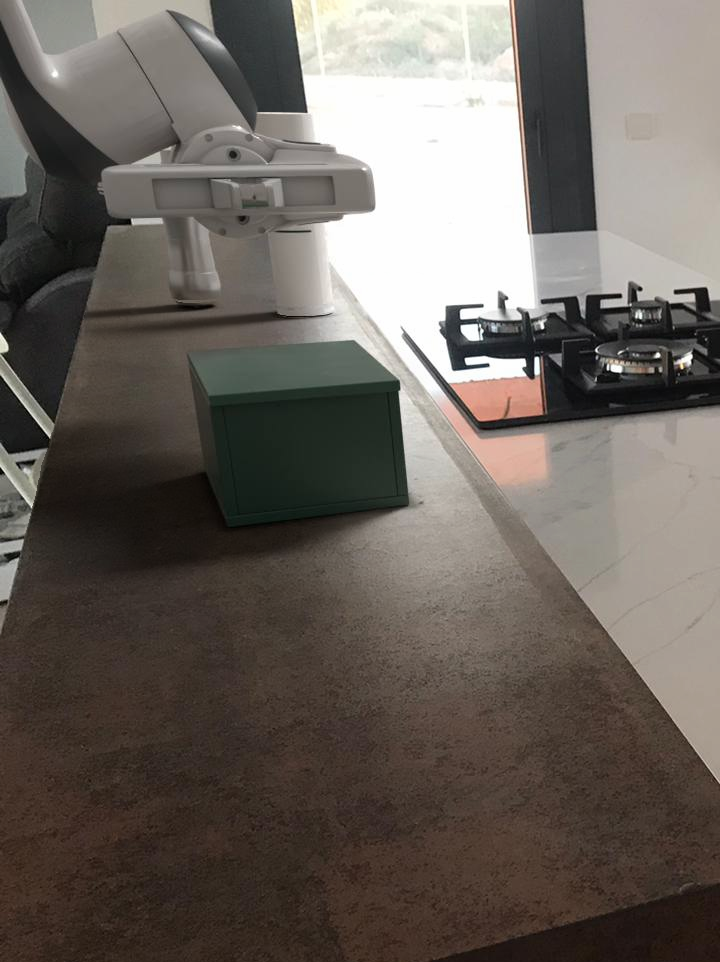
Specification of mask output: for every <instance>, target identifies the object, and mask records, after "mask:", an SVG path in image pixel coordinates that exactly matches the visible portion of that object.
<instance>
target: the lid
mask: <svg viewBox="0 0 720 962" xmlns="http://www.w3.org/2000/svg"><path fill="white" fill-rule="evenodd" d="M186 357H187V362H189V363H190V366H191V368H192V370H193V372H194V374H195V376H196V378H197V380H198V382H199V384H200V386H201V388H202V390H203V392H204V394H205V396H206V398H207V400H208V402H209V404H210V406H211V407H216V406H228V405H240V404H251V403H263V402H275V401H287V400H298V399H310V398H322V397H333V396H345V395H357V394H369V393H380V392H392V391H399V392H400V391H401V390H402V388H401V380H400V379H399V378H398V377H397V376H395V374H393V373H392V372H391V370H389V369H388V368H386V366H385V365H383V364H382V363H381V362H380V361H379V360H378V359H376V358H375V357H374V356H373V355H372V354H371V353H370V352H369V351H368V350H366V349H365V348H364V347H363V346H362V345H361V344H359V342H357V341H356V340H355V339H347V340H331V341H318V342H317V341H316V342H303V343H302V342H301V343H288V344H287V343H286V344H285V343H284V344H273V345H272V344H271V345H255V346H244V347H228V348H227V347H226V348H225V347H224V348H211V349H196V350H195V349H194V350H186Z"/></svg>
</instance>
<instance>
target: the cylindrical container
mask: <svg viewBox="0 0 720 962" xmlns="http://www.w3.org/2000/svg"><path fill="white" fill-rule="evenodd" d="M314 126H315V125H314V119H313V113H311V112H282V111H281V112H279V111H278V112H277V111H276V112H272V111H271V112H270V111H269V112H267V111H266V112H265V111H264V112H259V111H257V122H256V127H255V131H254V133H257V134H260V135H263V136H266V137H269V138H272V139H277V140H289V141H298V142H315V143H317V141H316V134H315V128H314ZM325 223H326V222H325ZM325 223H313V224H305V225H298V226H297V225H295V226H291V227H287V228H284V229H281V230H278V231H275V232H270V233H269V232H266V233H267V240H268V248H269V256H270V257H269V258H270V264H271V271H272V278H273V279H272V281H273V287H274V295H275V303H276V310H277V315H278V314H280V315H286V316H307V315H315V314H323V313H327V312H331V311H333V310H334V311H335V306H332V307H330V308H325V309H318V310H284V309H279V308H277V306H282V307H305V306H314V305H321V304H326V303H329V302H331V301H333V302H334V296H333V288H332V287H333V286H332V279H331V269H330V259H329V250H328V242H327V234H326V225H325ZM280 315H279V316H280ZM286 316H285V317H286Z"/></svg>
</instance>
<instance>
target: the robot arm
mask: <svg viewBox="0 0 720 962" xmlns="http://www.w3.org/2000/svg"><path fill="white" fill-rule="evenodd" d="M0 87H1V92H2V96H3V98H4V99H3V100H4V104H5V107H6V112H7V115H8V118H9V121H10V124H11V126H12V129H13V131H14V133H15V135H16V137H17V139H18V141H19V143H20V144H21V146H22V148H23V149H24V150H25V152H26V153H27V155H28V156H29V157H30V158H31V160H32V161H33V162H34V163H35V164H36V165H37V166H38V167H39V168H41V169H42V170H43V171H44V172H45V173H46V175H47V176H51V177H52V178H55V179H59V180H62V181H65V182H69V183H72V184H78V185H82V186H89V187H96V189H97V192H98V194H99V195H102V196H104V200H105V204H106V205H105V206H106V210H107V214H108V215H109V216H110V217H111V218H114V219H122V220H123V219H125V220H127V219H128V220H129V219H132V220H134V219H135V220H136V219H162V218H172V217H194V218H195V219H196V220H197V221H198V222H199V223H200V224H201V225H203V226H204V227H205V228H207V229H208V230H209V232H212V233H214V234H216V235H219V236H222V237H225V238H229V239H235V240H245V239H253V238H257V237H261V236H262V235H264V234H266V233H267V232H269V233H270V232H275V231H278V230H281V229H284V228H287V227H291V226H295V225H297V226H298V225H305V224H313V223H330V222H338V221H339V222H340V221H342V220H343V219H344V216H347V215H348V216H349V215H360V214H361V215H362V214H369V213H373V212H374V211H375V210H376V207H377V205H376V204H377V203H376V189H375V180H374V175H373V174H374V173H373V170H372V168H371V167H370V165H369V164H367V163H366V162H364V161H362V160H360V159H358V158H356V157H353V156H352V155H351V156H350V155H348V154H344V153H338V151H337V147H336V146H335V145H333V144H330V143H321V142H316V141H315V142H316V143H315V142H298V141H289V140H277V139H272V138H269V137H266V136H263V135H260V134H257V133H255V132H254V131H255V127H256V122H257V112H258V106H257V103H256V99H255V97H254V95H253V93H252V90H251V88H250V87H249V85H248V83H247V80H246V78H245V76H244V75H243V73H242V71H241V69H240V67H239V66H238V64H237V62H236V61H235V59H234V58H233V57H232V55H231V54H230V52H229V51H228V49H227V47H225V45H224V44H223V43H222V41H221V40H220V38H218V37H217V36H216V35H215V33H214V32H212V31H211V29H209V28H208V27H207V26H206V25H204V24H202V23H200V22H198V21H197V20H195V19H194V18H191V17H189V16H188V15H185V14H183V13H181V12H178V11H174V10H170V9H165V10H163V11H160V12H158V13H155V14H152V15H150V16H148V17H145V18H143V19H140V20H137V21H135V22H132V23H130V24H128V25H126V26H124V27H121V28H118V29H117V30H116V31H114V32H111V33H109V34H105V35H103V36H101V37H99V38H95V39H94V40H92V41H89V42H86V43H84V44H82V45H78V46H76V47H74V48H72V49H68V50H67V51H64V52H62V53H58V54H48V53H45V52H44V51H43V49H42V46H41V43H40V42H39V39H38V36H37V34H36V31H35V29H34V27H33V23H32V22H31V18H30V17H29V14H28V12H27V10H26V7H25V5H24V2H23V0H0ZM169 148H170V150H171V151H170V154H169V159H168V164H161V163H136V162H139V161H142V160H143V159H147V158H149V157H150V156H153V155H155V154H157V153H160V151H162V150H167V149H169Z"/></svg>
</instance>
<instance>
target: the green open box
mask: <svg viewBox="0 0 720 962" xmlns="http://www.w3.org/2000/svg"><path fill="white" fill-rule="evenodd" d="M187 362H188V363H187V365H188V371H189V376H190V382H191V383H190V384H191V389H192V395H193V402H194V409H195V414H196V421H197V427H198V428H197V429H198V433H199V440H200V446H201V452H202V459H203V465H204V471H205V474H206V477H207V479H208V481H209V484H210V486H211V488H212V491H213V494H214V496H215V498H216V501H217V504H218V506H219V509H220V510H221V513H222V516H223V518H224V520H225V523H226V526H227V528H235V527H244V526H250V525H258V524H260V525H261V524H267V523H274V522H275V523H276V522H281V521H282V522H283V521H284V522H285V521H291V520H300V519H307V518H314V517H324V516H331V515H338V514H346V513H348V514H349V513H354V512H356V513H357V512H363V511H371V510H378V509H386V508H395V507H402V506H403V507H404V506H409V505H410V495H409V487H408V486H409V485H408V475H407V473H408V472H407V466H406V453H405V443H404V433H403V421H402V412H401V402H400V401H401V400H400V391H392V392H380V393H369V394H357V395H345V396H333V397H322V398H310V399H298V400H287V401H275V402H263V403H251V404H240V405H228V406H216V407H211V406H210V404H209V402H208V400H207V398H206V396H205V394H204V392H203V390H202V388H201V386H200V384H199V382H198V380H197V378H196V376H195V374H194V372H193V370H192V368H191V366H190V363H189V361H187Z"/></svg>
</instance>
